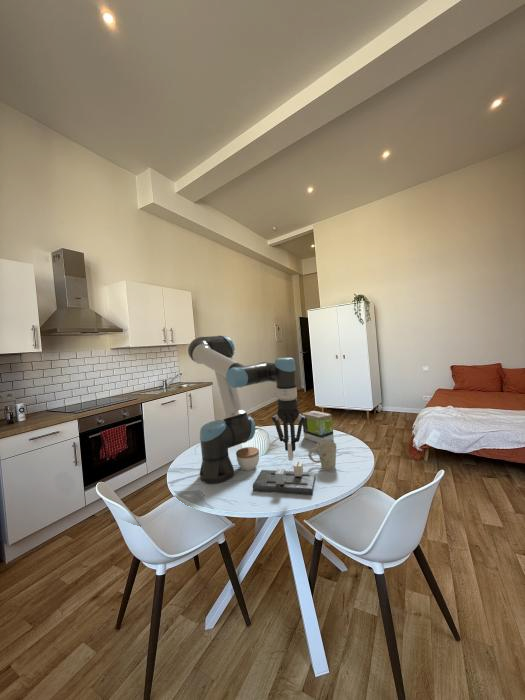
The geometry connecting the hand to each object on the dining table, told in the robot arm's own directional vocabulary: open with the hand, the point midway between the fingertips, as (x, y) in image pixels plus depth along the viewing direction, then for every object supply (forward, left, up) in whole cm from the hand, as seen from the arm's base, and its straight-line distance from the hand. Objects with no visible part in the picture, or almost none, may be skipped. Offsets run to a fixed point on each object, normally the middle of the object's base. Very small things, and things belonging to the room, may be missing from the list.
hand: (291, 458), depth 108 cm
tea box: (+5, +56, -12) cm, 57 cm away
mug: (+10, +21, -12) cm, 26 cm away
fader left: (+1, +7, -9) cm, 11 cm away
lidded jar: (-24, +17, -12) cm, 32 cm away
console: (-4, +3, -12) cm, 13 cm away
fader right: (-5, 0, -9) cm, 10 cm away
